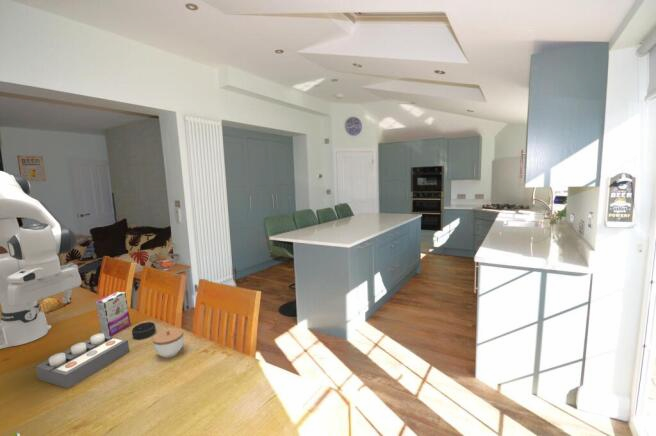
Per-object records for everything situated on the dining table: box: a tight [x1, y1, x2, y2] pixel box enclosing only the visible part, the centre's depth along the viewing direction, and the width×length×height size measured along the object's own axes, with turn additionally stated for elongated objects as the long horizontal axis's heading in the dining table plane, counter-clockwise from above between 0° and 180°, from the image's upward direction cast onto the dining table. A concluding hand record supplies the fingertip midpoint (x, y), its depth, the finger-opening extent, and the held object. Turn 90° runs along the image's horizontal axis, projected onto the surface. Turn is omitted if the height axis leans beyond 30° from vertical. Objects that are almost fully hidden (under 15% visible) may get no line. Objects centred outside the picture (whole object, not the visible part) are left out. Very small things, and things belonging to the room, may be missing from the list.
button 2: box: [70, 341, 87, 357], centre depth 117 cm, size 4×4×4 cm
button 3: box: [90, 332, 105, 347], centre depth 123 cm, size 4×4×4 cm
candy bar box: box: [95, 291, 131, 337], centre depth 140 cm, size 11×5×16 cm, turn 168°
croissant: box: [38, 296, 72, 314], centre depth 166 cm, size 21×10×8 cm, turn 153°
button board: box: [35, 335, 130, 389], centre depth 116 cm, size 16×22×6 cm
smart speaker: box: [131, 321, 157, 340], centre depth 137 cm, size 9×9×4 cm
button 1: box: [48, 352, 67, 369], centre depth 110 cm, size 4×4×4 cm
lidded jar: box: [152, 327, 185, 359], centre depth 122 cm, size 11×11×9 cm
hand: (51, 307), depth 109 cm, fingers open, 8 cm apart
